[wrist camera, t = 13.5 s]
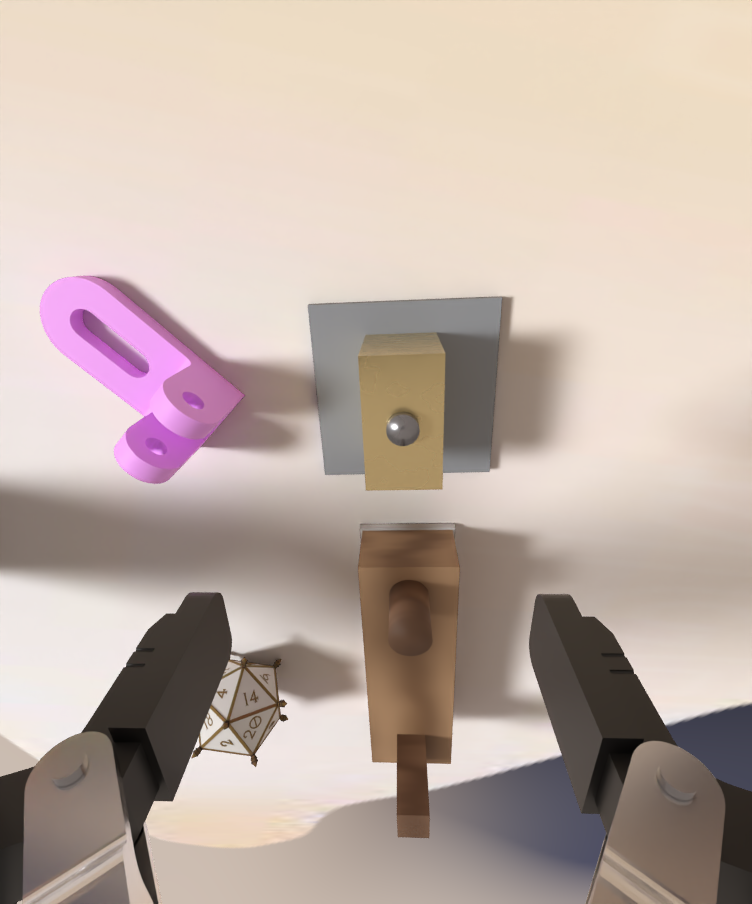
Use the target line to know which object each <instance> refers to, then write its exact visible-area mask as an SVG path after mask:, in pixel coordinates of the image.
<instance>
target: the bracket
mask: <svg viewBox="0 0 752 904" xmlns="http://www.w3.org/2000/svg"><path fill="white" fill-rule="evenodd" d="M84 310H87V311H89V312H91V313H92V314H93V315H94V316H96V317H97V318H98V319H99V320H101V321H102V322H103V323H104V324H106V325H107V326H108V327H109V328H111V329H112V330H113V331H114V332H116V333H117V334H118V335H119V336H120V337H122V338H123V339H124V340H125V341H127V342H128V343H129V344H130V345H132V346H133V347H134V348H135V349H137V350H138V351H139V352H140V353H142V354H143V355H144V356H145V357H146V359H147V361H148V363H149V371H148V373H144V372H142V371H140V370H138V369H137V368H136V367H134V366H133V365H132V364H131V363H129V362H128V361H127V360H126V359H124V358H123V357H122V356H121V355H119V354H118V353H117V352H116V351H114V350H113V349H112V348H111V347H109V346H108V345H107V344H106V343H104V342H103V341H102V340H100V339H99V338H98V337H97V336H95V335H94V334H93V333H92V332H90V331H89V330H88V329H87V328H86V326H85V325H84V322H83V312H84ZM40 316H41V321H42V324H43V327H44V330H45V332H46V334H47V336H48V337H49V339H50V340H51V342H52V343H53V344H54V346H55V347H56V348H57V349H58V350H59V351H60V352H61V353H63V354H64V355H65V356H66V357H68V358H69V359H70V360H71V361H73V362H74V363H75V364H77V365H78V366H79V367H81V368H82V369H83V370H85V371H86V372H87V373H88V374H90V375H91V376H92V377H94V378H95V379H96V380H98V381H99V382H100V383H102V384H103V385H104V386H105V387H107V388H108V389H109V390H111V391H112V392H113V393H115V394H116V395H117V396H119V397H120V398H121V399H122V400H124V401H125V402H126V403H128V404H129V405H130V406H132V407H133V408H134V409H135V410H137V411H138V412H139V413H141V414H142V415H143V416H144V418H142V419H141V420H139V421H138V422H137V423H135V424H134V425H132V426H131V427H129V428H128V430H127V431H126V432H125V434H124V435H123V436H122V437H121V439H120V440H119V441H118V443H117V444H116V446H115V448H114V455H115V458H116V461H117V462H118V464H119V465H120V467H121V468H122V469H123V470H124V471H125V472H127V473H128V474H129V475H131V476H132V477H134V478H136V479H138V480H141V481H143V482H147V483H154V484H157V483H163V482H166V481H167V480H169V479H170V478H171V477H172V476H173V475H174V474H175V473H176V472H177V471H178V470H179V469H180V468H181V467H182V466H183V465H184V464H185V462H186V461H187V460H188V459H189V458H190V457H191V456H192V455H193V454H194V453H195V452H196V451H197V450H198V449H199V448H200V447H201V446H202V445H203V444H204V442H205V441H206V440H207V439H208V438H209V437H210V435H211V434H212V433H213V432H214V431H215V430H216V428H217V427H218V426H219V425H220V424H221V423H222V421H223V420H224V419H225V418H226V417H227V416H228V414H229V413H230V412H231V411H232V410H233V409H234V408H235V406H236V405H237V404H238V403H239V402H240V401H241V399H242V398H243V397H244V396H245V395H244V394H242V393H241V392H240V391H239V390H238V389H237V388H235V387H234V386H233V385H232V384H231V383H229V382H228V381H227V380H226V379H225V378H223V377H222V376H221V375H220V374H219V373H217V372H216V371H215V370H214V369H213V368H211V367H210V366H209V365H208V364H207V363H205V362H204V361H203V360H202V359H201V358H200V357H198V356H197V355H196V354H195V353H194V352H192V351H191V350H190V349H189V348H188V347H186V346H185V345H184V344H183V343H182V342H180V341H179V340H178V339H177V338H176V337H174V336H173V335H172V334H171V333H170V332H168V331H167V330H166V329H165V328H164V327H163V326H161V325H160V324H159V323H158V322H157V321H155V320H154V319H153V318H152V317H151V316H149V315H148V314H147V313H146V312H145V311H143V310H142V309H141V308H140V307H139V306H137V305H136V304H135V303H134V302H133V301H132V300H130V299H129V298H128V297H127V296H126V295H124V294H123V293H122V292H121V291H120V290H118V289H117V288H116V287H115V286H113V285H112V284H110V283H109V282H107V281H105V280H102V279H100V278H96V277H92V276H76V277H67V278H62V279H59V280H57V281H55V282H53V283H52V284H51V285H50V286H49V287H48V288H47V289H46V290H45V292H44V294H43V296H42V299H41V303H40Z"/></svg>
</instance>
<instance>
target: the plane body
mask: <svg viewBox="0 0 752 904" xmlns="http://www.w3.org/2000/svg"><path fill="white" fill-rule="evenodd" d="M360 538H361V547H360V555H359V563H358V575H359V588H360V601H361V615H362V628H363V641H364V655H365V668H366V682H367V695H368V708H369V722H370V735H371V749H372V762H391V763H397V828H398V837H415V838H429V821H430V820H429V819H430V818H429V799H428V798H429V797H428V779H427V763H440V764H451V747H452V726H453V704H454V682H455V660H456V638H457V616H458V594H459V572H460V566H459V561H458V555H457V550H456V545H455V524H454V523H429V524H360Z"/></svg>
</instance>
